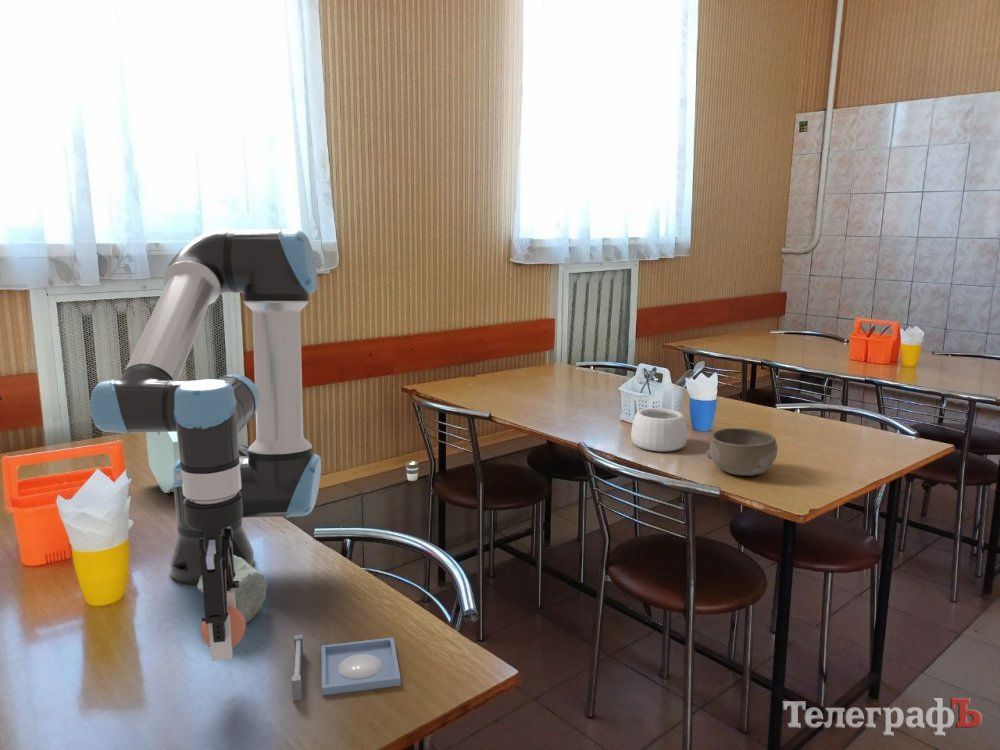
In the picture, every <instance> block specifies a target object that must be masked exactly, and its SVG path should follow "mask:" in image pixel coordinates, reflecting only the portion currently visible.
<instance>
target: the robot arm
mask: <svg viewBox="0 0 1000 750" xmlns="http://www.w3.org/2000/svg"><path fill="white" fill-rule="evenodd" d="M162 281H163V286H164V289H163V290H162V292H161V294H160V297H159V298H158V301H157V303H156V305H155V307H154V309H153V310H152V313H151V315H150V317H149V319H148V322H147V324H146V326H145V328H144V330H143V332H142V334H141V336H140V338H139V341H138V342H137V344H136V345H135V349H134V351H133V353H132V355H131V356H130V360H129V361H128V364H127V365H126V367H125V369H124V371H123V373H122V375H121V376H120V379H119V380H116V379H111V380H104V381H101V382H99V383H97V384H95V387H94V388H93V390H92V392H91V396H90V401H89V404H90V405H89V411H90V416H91V419H92V421H93V423H94V425H95V427H96V428H97V429H98V430H100V431H102V432H104V433H105V432H109V433H123V434H130V433H131V434H132V433H133V434H135V433H136V434H137V433H138V434H139V433H140V434H141V433H146V432H177V438H178V448H179V457H180V459H179V460H178V461H177V462H176V463H175V465H174V467H173V479H174V482H173V487H174V492H173V496H174V506H175V507H174V508H175V518H176V526H177V527H176V528H177V537H176V538H175V544H174V547H173V551H172V555H171V559H170V564H169V566H170V567H169V568H170V574H171V575H170V576H171V578H172V579H173V580H174V581H176V582H178V583H180V584H184V585H190V586H191V585H192V586H197V584H198V583H199V579H200V577H201V575H202V583H203V593H202V594H203V595H202V596H203V607H204V615H203V616H202V617H201V622H202V623H203V622H204V621H205V623H206V624H208V625H209V636H210V647H209V648H210V660H211V662H213V661H214V662H215V661H223V660H232V659H233V656H234V654H233V647H232V640H231V628H230V615H229V614H228V612H227V606H230V607H234V608H236V604H235V591H234V590H231V588H239V581H234V579H233V578H235V575H236V573H235V570H234V558H233V555H235V556H237V557H240V558H242V559H243V560H245V561H246V562H247V563H248V564H249V565H251V566H252V567H253V568H254V564H255V554H254V553H255V552H254V548H253V546H252V544H251V541H250V540H249V538H248V535H247V532H246V530H245V529H244V524H243V518H246V519H248V518H286V519H289V518H291V517H293V518H294V517H305V516H308V515H309V514H310V513H311V512H313V509H314V508H315V506H316V501H317V499H318V495H319V488H320V482H321V473H322V458H321V456H320V455H319V454H316V453H313V449H312V448H313V445H312V443H310V442H309V441H308V439H306V438H305V437H304V417H303V415H304V414H303V411H304V409H303V408H304V407H303V404H304V403H303V369H302V367H303V366H302V364H303V363H302V330H301V329H302V328H301V323H302V322H301V319H302V318H301V312H302V310H303V309H304V308H305V307H306V306H307V305H308V304H309V295H310V294H313V293H316V291H317V288H318V273H317V266H316V260H315V255H314V252H313V248H312V244H311V242H310V239H309V237H308V236H307V234H305V232H303V231H301V230H298V229H287V228H286V229H285V228H240V229H239V228H237V229H236V228H235V229H234V228H218V229H215V230H211V231H208V232H207V233H203V234H202V235H200V236H198V237H196V238H194V239H193V240H192V241H190V242H189V243H187V244H185V246H184V247H183V248H181V249H180V251H178V252H177V253H176V254H175V256H174V257H172V259H171V260H170V262H169V264H168V265H167V267H166V268H165V271H164V274H163V278H162ZM225 293H233V294H234V293H238V294H239V293H242V294H243V295H242V296H243V304H244V305H245V306H246V307H248V308H249V309H250V310H251V312H252V331H253V332H252V335H253V339H252V340H253V366H254V367H253V368H254V372H253V373H254V382H253V381H252V380H251V379H249V378H248V377H247V376H244V375H242V374H237V373H230V374H229V373H228V374H225V375H222V376H219V377H218V378H216V379H213V378H212V379H208V378H207V379H198V380H197V379H195V380H192V379H191V380H187V379H186V380H184V379H183V380H179V379H180V376H181V374H182V371H183V368H184V367H185V364H186V361H187V359H188V357H189V354H190V353H191V349H192V348H193V345H194V342H195V339H196V337H197V334H198V333H199V330H200V328H201V325H202V322H203V320H204V317H205V315H206V312H207V310H208V307H209V306H210V305H212V304H213V303H215V302H216V301H217V300H218V298H219V296H220V294H225ZM254 417H255V430H256V431H255V432H256V436H255V437H256V438H255V440H254V441H253V443H251V444H250V445H249V446H248V455H240V452H239V440H238V439H239V438H238V436H239V433H240V432H241V430H242V429H243V428H245V426H246V425H247V424H248V423H249V422H251V420H252V419H253V418H254Z"/></svg>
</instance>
